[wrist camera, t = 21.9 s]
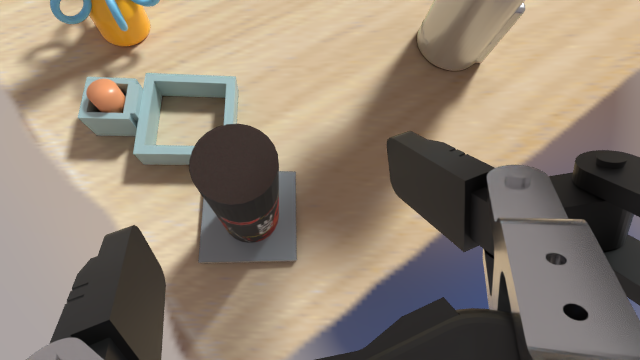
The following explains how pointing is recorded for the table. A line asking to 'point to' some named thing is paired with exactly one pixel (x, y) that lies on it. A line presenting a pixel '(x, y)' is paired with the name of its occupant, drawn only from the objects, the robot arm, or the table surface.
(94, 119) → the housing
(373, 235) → the table surface
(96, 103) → the brown egg
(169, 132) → the table surface
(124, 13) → the multicoloured piece
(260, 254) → the coaster
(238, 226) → the deodorant
